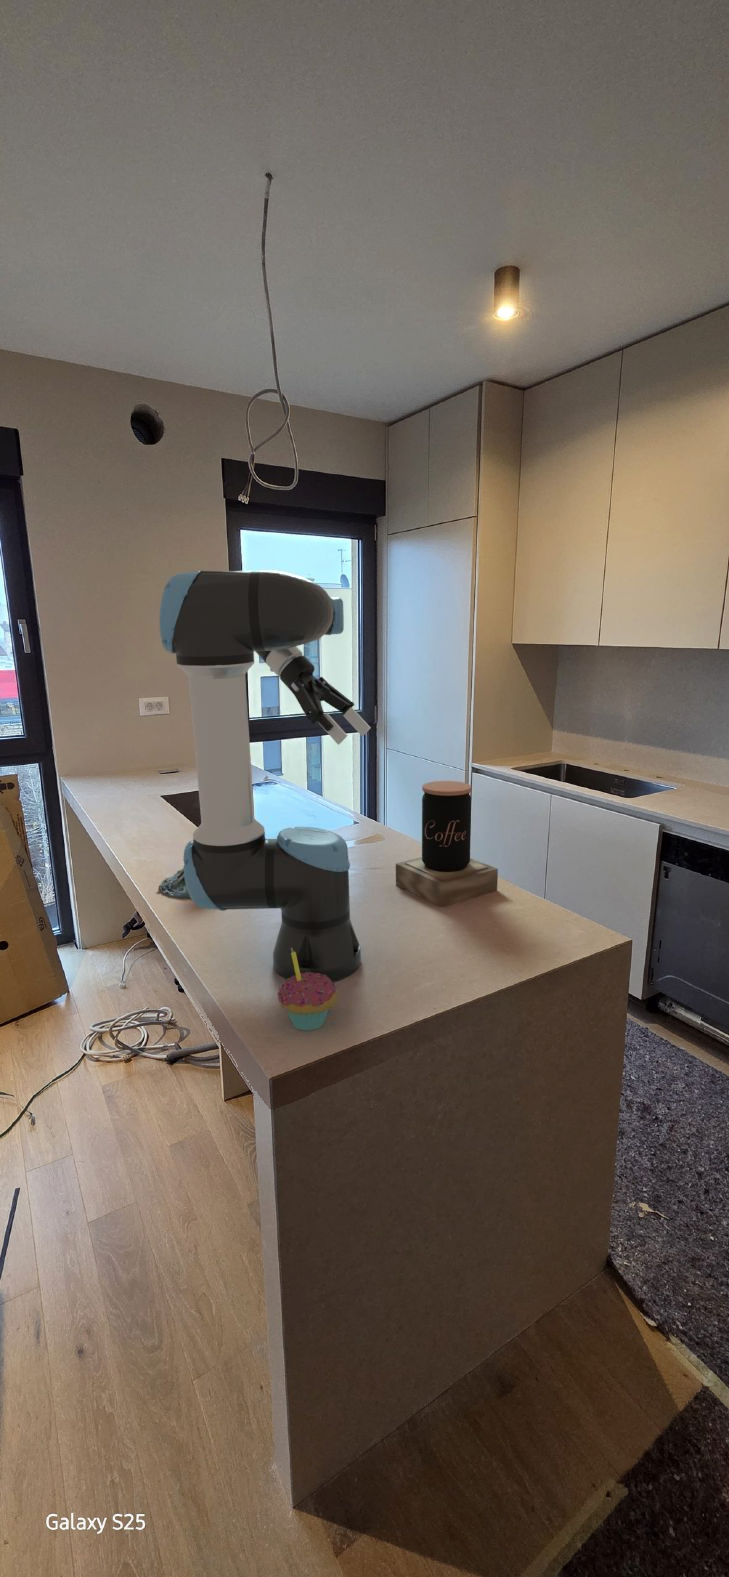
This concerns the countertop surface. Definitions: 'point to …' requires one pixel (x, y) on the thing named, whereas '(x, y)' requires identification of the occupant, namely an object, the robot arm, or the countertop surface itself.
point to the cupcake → (307, 997)
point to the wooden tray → (446, 881)
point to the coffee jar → (446, 825)
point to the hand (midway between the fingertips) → (355, 736)
